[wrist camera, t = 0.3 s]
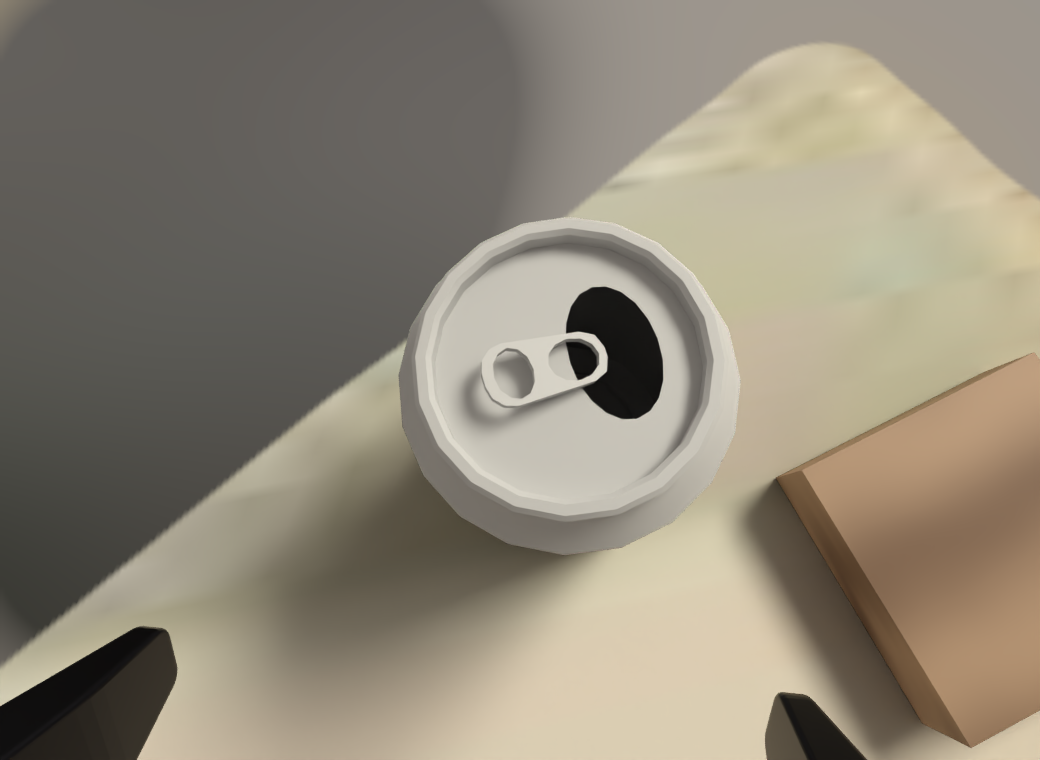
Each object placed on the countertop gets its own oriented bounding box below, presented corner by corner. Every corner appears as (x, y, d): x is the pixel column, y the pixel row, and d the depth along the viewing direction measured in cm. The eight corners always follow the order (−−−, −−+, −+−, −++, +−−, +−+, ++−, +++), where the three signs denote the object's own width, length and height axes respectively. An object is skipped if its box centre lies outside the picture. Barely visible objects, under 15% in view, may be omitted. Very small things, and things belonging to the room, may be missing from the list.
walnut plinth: (1150, 599, 21) (1227, 607, 18) (921, 723, 20) (971, 747, 18) (984, 372, 23) (1033, 352, 21) (775, 477, 23) (801, 470, 20)
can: (691, 514, 22) (832, 487, 11) (495, 574, 22) (427, 610, 11) (625, 330, 24) (685, 140, 13) (444, 383, 24) (340, 241, 13)
